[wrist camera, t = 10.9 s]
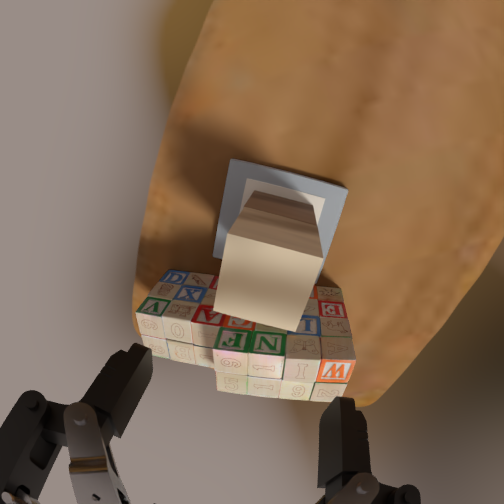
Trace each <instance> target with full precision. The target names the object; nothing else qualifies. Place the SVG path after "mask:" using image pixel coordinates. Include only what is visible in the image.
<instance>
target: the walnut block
mask: <svg viewBox="0 0 504 504" xmlns="http://www.w3.org/2000/svg"><path fill="white" fill-rule="evenodd" d="M244 207H248V208H252V209H256V210H260V211H264V212H268V213H272V214H275V215H279V216H283V217H287V218H291V219H294V220H298V221H302V222H305V223H309V224H313V225H316V226H317V222H316V217H315V212H314V208H313V205H310V204H306V203H303V202H299V201H295V200H291V199H287V198H284V197H280V196H276V195H272V194H268V193H264V192H260V191H256V190H254V192H253V193H252V195H251V196H250V198H249V199H248V201H247V202H246V204H245V205H244Z"/></svg>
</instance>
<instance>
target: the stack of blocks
mask: <svg viewBox="0 0 504 504" xmlns="http://www.w3.org/2000/svg"><path fill="white" fill-rule="evenodd" d="M218 280H219V276H214V275H210V274H202V273H194V272H191V273H190V272H185V271H177V270H168V271H167V272H166V273H165V275H164V276H163V277H162V278H161V279H160V280H159V282H158V283H157V284H156V285H155V286H154V287H153V289H152V290H151V291H150V292H149V294H148V297H147V298H146V299H145V300H144V301H143V303H142V304H141V305H140V307H139V308H138V309H137V311H136V317H137V321H138V325H139V329H140V333H141V334H142V339H143V343H144V346H146V347H148V348H151V349H152V355H154V356H158V357H163V358H167V359H168V358H170V359H171V360H175V361H179V362H185V363H190V364H197V365H200V366H205V367H212V368H214V369H215V372H216V382H217V390H218V391H224V392H230V393H237V394H244V395H247V394H248V395H253V396H262V397H271V398H282V399H294V400H311V401H323V402H332V401H333V399H334V398H335V397H336V396H340V397H342V395H343V392H344V390H345V388H346V386H347V382H348V380H349V378H350V376H351V373H352V371H353V368H354V366H355V363H356V356H355V351H354V346H353V342H352V333H351V329H350V324H349V320H348V317H347V313H346V309H345V305H344V300H343V295H342V291H341V289H340V288H332V287H321V286H316V285H314V286H313V289H312V291H311V294H310V296H309V299H308V302H307V304H306V307H305V309H304V312H303V314H302V317H301V319H300V322H299V324H298V327H297V329H296V331H295V332H294V331H289V330H285V329H281V328H277V327H273V326H269V325H265V324H261V323H257V322H253V321H249V320H245V319H242V318H238V317H234V316H231V315H227V314H223V313H220V312H216V311H213V308H214V303H215V297H216V291H217V286H218Z"/></svg>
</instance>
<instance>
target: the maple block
mask: <svg viewBox="0 0 504 504" xmlns="http://www.w3.org/2000/svg"><path fill="white" fill-rule="evenodd" d="M323 259H324V258H323V252H322V247H321V241H320V236H319V231H318V226H316V225H313V224H309V223H305V222H302V221H298V220H294V219H291V218H287V217H283V216H279V215H275V214H272V213H268V212H264V211H260V210H256V209H252V208H248V207H244V208H243V210H242V211H241V213H240V214H239V216H238V217H237V219H236V221H235V222H234V224H233V225H232V227H231V228H230V230H229V232H228V233H227V238H226V243H225V248H224V253H223V259H222V264H221V269H220V275H219V280H218V286H217V291H216V297H215V303H214V308H213V311H216V312H220V313H223V314H227V315H231V316H234V317H238V318H242V319H245V320H249V321H253V322H257V323H261V324H265V325H269V326H273V327H277V328H281V329H285V330H289V331H294V332H295V331H296V329H297V327H298V324H299V322H300V319H301V317H302V314H303V312H304V309H305V307H306V304H307V302H308V299H309V296H310V294H311V291H312V289H313V286H314V283H315V281H316V278H317V275H318V273H319V270H320V267H321V264H322V262H323Z"/></svg>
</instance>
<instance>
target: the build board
mask: <svg viewBox="0 0 504 504" xmlns="http://www.w3.org/2000/svg"><path fill="white" fill-rule="evenodd" d="M254 190H256V191H260V192H264V193H268V194H272V195H276V196H280V197H284V198H287V199H291V200H295V201H299V202H303V203H306V204H310V205H313V208H314V212H315V217H316V222H317V226H318V231H319V236H320V241H321V247H322V252H323V258H324V259H323V262H322V264H321V267H320V270H319V273H318V275H317V278H316V281H315V283H317V281H318V278H319V275H320V273H321V270H322V267H323V265H324V262H325V259H326V256H327V253H328V251H329V248H330V245H331V242H332V239H333V236H334V233H335V230H336V227H337V224H338V221H339V218H340V215H341V212H342V209H343V206H344V203H345V199H346V196H347V193H348V189H347V188H345V187H342V186H339V185H335V184H332V183H328V182H325V181H322V180H318V179H315V178H311V177H307V176H304V175H300V174H296V173H292V172H289V171H285V170H281V169H277V168H273V167H269V166H264V165H260V164H256V163H251V162H247V161H243V160H238V159H233V158H232V159H230V164H229V169H228V174H227V179H226V184H225V189H224V195H223V200H222V205H221V211H220V216H219V222H218V227H217V233H216V239H215V245H214V251H213V257H215V258H219V259H223V253H224V248H225V243H226V238H227V233H228V232H229V230H230V228H231V227H232V225H233V224H234V222H235V221H236V219H237V217H238V216H239V214H240V213H241V211H242V210H243V208H244V205H245V204H246V202H247V201H248V199H249V198H250V196H251V195H252V193H253V192H254Z"/></svg>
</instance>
